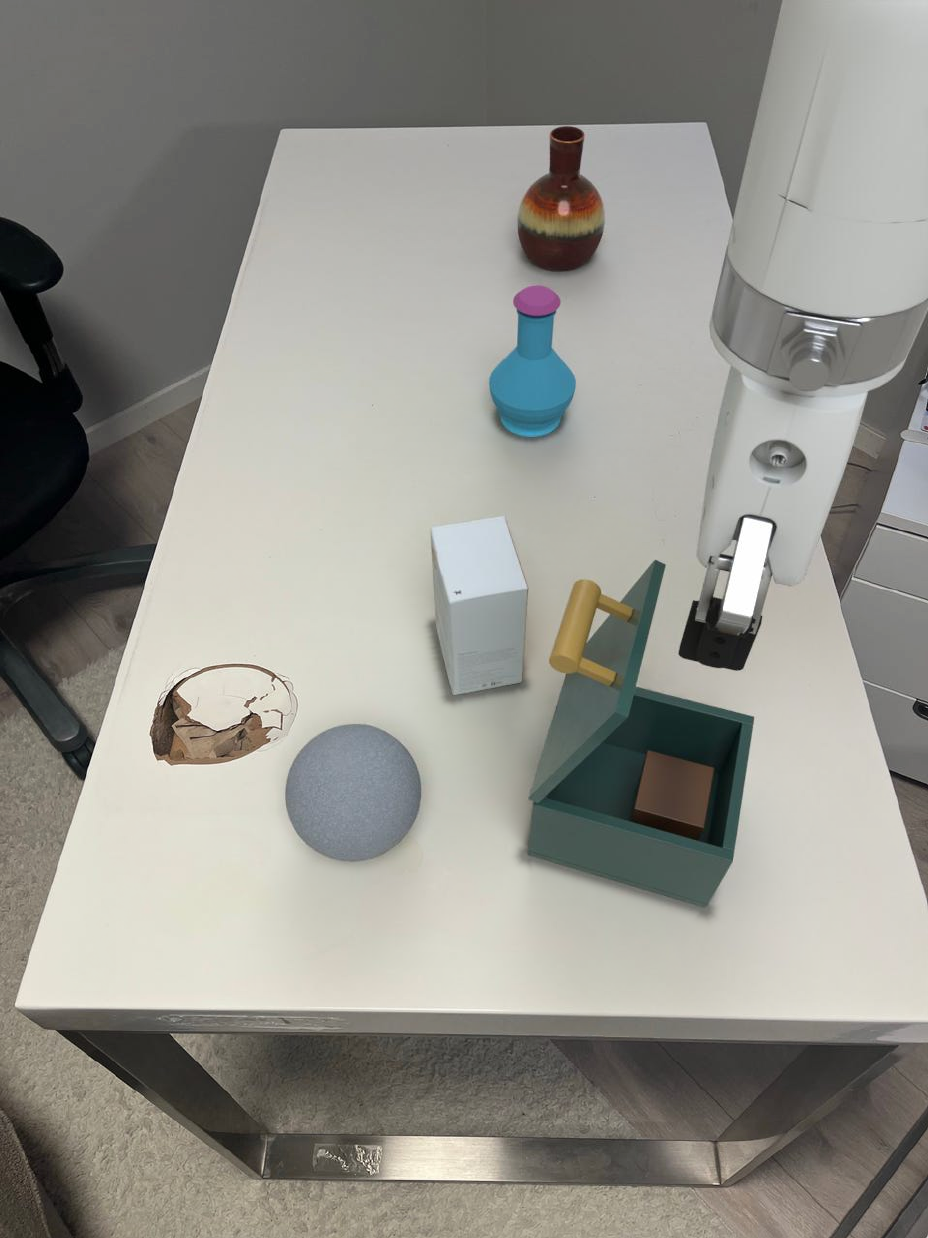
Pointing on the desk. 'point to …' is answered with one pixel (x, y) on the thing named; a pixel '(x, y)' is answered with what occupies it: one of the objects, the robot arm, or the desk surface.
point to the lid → (595, 672)
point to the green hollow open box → (605, 790)
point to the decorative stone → (353, 792)
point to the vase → (561, 208)
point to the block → (672, 795)
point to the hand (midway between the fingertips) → (723, 587)
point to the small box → (479, 604)
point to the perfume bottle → (533, 370)
